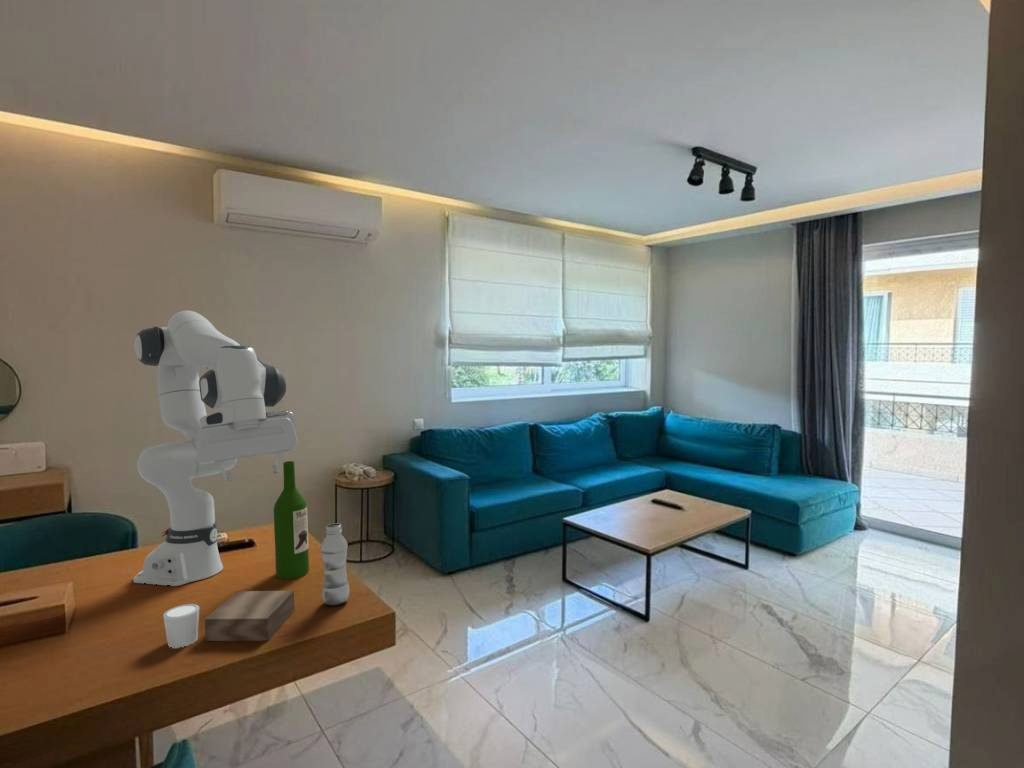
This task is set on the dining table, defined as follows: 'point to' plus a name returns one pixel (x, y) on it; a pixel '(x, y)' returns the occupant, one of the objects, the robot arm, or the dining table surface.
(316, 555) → the dining table surface
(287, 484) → the wine bottle
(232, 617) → the block
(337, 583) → the plastic bottle
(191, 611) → the white cup
